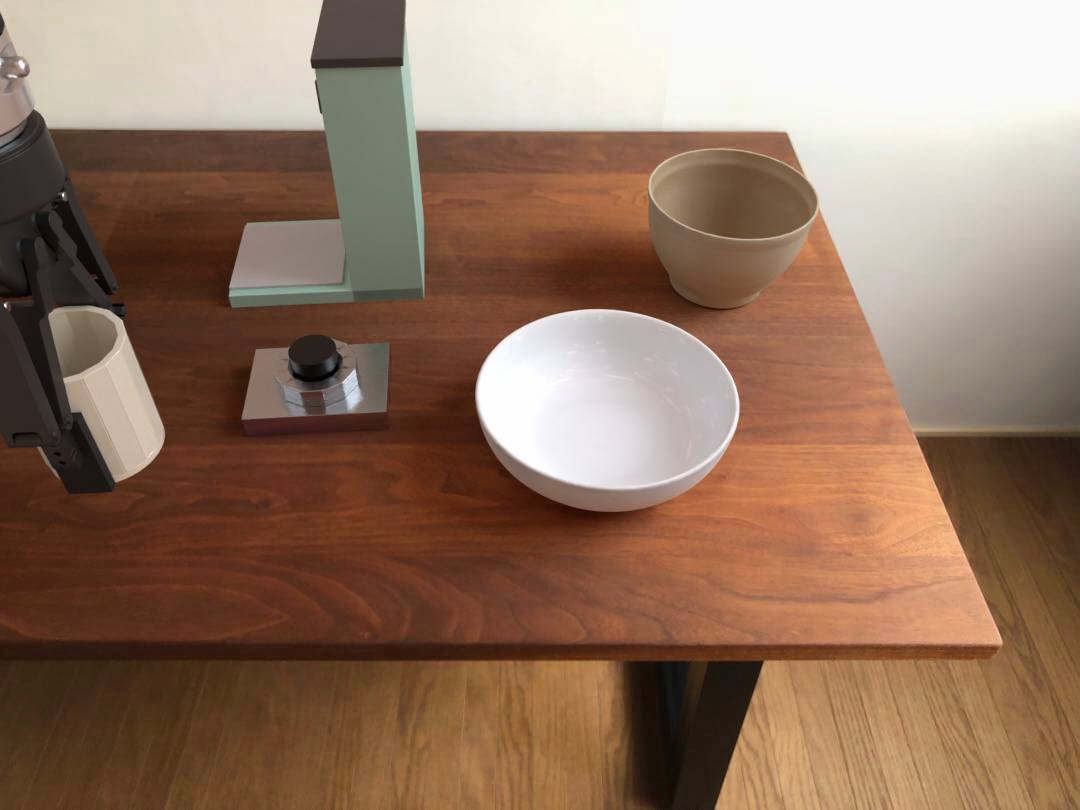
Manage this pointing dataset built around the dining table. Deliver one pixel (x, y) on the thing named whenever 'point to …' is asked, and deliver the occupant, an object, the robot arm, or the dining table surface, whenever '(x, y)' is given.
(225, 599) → the dining table surface
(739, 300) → the planter bowl
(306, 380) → the button
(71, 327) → the cup
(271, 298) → the coffee maker
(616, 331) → the serving bowl
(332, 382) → the button block
